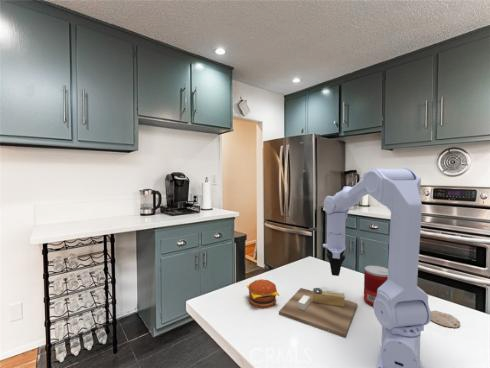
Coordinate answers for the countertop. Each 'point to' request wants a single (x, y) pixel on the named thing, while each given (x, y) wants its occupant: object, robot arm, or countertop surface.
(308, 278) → the countertop surface
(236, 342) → the countertop surface
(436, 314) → the flatbread
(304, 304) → the white rectangular block
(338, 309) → the plate
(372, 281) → the canned food
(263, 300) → the hamburger
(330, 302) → the bar
